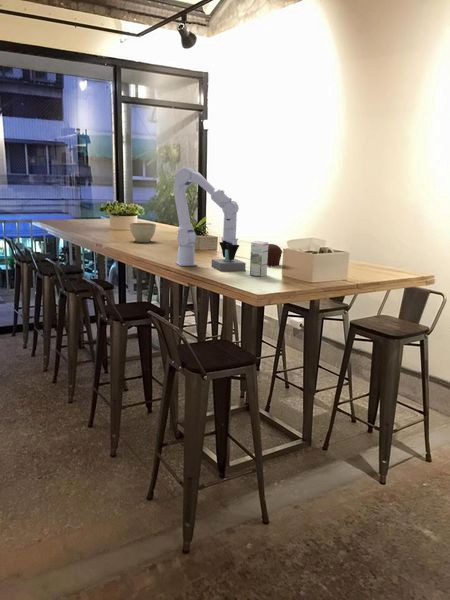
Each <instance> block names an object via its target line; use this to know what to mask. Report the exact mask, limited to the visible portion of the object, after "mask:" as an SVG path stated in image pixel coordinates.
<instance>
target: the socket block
mask: <svg viewBox="0 0 450 600" xmlns="http://www.w3.org/2000/svg"><path fill="white" fill-rule="evenodd" d="M210 266H211V268H213V269H214V270H217V271H219V272H239V271H241V272H242V271H243V272H245V271H246V262H244V261H242V260H239V259H238V258H234V260H232V262H225V258H214V259H213V258H212V259H211V265H210Z"/></svg>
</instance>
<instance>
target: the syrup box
mask: <svg viewBox="0 0 450 600" xmlns="http://www.w3.org/2000/svg"><path fill="white" fill-rule="evenodd" d="M268 244H269V242H268V241H259V240H255V241H252V242H250V263H249V276H254V277H259V278H260V277H266V276H267V274H268V266H267V258H268Z"/></svg>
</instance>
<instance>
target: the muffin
mask: <svg viewBox="0 0 450 600" xmlns="http://www.w3.org/2000/svg"><path fill="white" fill-rule="evenodd" d="M282 254H283V250H282V248H281V247H280V246H279V245H278V244H274V243H268V258H267V267H278V266H280V264H281V259H282V258H281V257H282Z"/></svg>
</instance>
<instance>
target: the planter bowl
mask: <svg viewBox="0 0 450 600" xmlns="http://www.w3.org/2000/svg"><path fill="white" fill-rule="evenodd" d="M156 227H157V224H156V223H151V222H129V228H130V233H131V235H132V237H133V238H134V241H135V242H140V243H149V242H152V241H151V240H152V238H153V237H154V236H155V234H156Z"/></svg>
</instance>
